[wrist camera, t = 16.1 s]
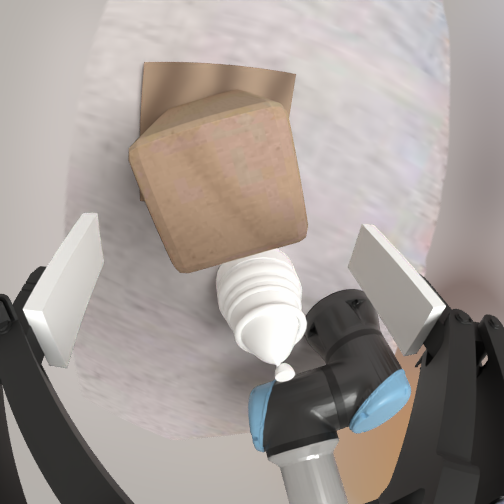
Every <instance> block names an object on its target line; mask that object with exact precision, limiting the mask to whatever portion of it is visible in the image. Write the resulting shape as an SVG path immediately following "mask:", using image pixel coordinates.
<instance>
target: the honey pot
mask: <svg viewBox="0 0 504 504" xmlns="http://www.w3.org/2000/svg"><path fill="white" fill-rule="evenodd" d="M216 288H217V297H218V305H219V309H220V312H221V313H222V315H223V317H224V318H225V319H226V321H227V322H228V325H229V326H230V328H231V330H232V331H233V332H234V337H235V341H236V343H237V344H238V346H239V347H240V348H242V349H243V350H244V351H246V352H249V353H251V354H253V355H255V356H256V357H257V358H259V359H260V360H262V361H264V362H266V363H269V364H275V365H276V367H277V368H276V370H275V379H276V380H277V381H279V382H285V381H288V380H291V379H292V378H293V377H294V376H295V372H294V370H293V368H292V367H291V366H290V365H289V364H287V363H281V362H283V361H284V360H285V359H286V358H287V357H288V356H289V355H290V353H291V351H292V349H293V346H294V345H295V344H296V343H297V342H299V340H300V339H301V338H302V337H303V335H304V333H305V331H306V327H307V321H306V317H305V315H304V314H303V312H302V311H301V309H302V305H301V299H302V287H301V284H300V280H299V279H298V276H297V273H296V271H295V269H294V267H293V265H292V262H291V261H290V259H289V258H288V257H287V255H286V254H284V253H283V252H281V251H280V250H278V249H272V250H269V251H265V252H262V253H258V254H255V255H251V256H248V257H244V258H241V259H237V260H233V261H230V262H226V263H223V264H221V266H220V268H219V270H218V272H217V276H216ZM298 327H299V329H298Z"/></svg>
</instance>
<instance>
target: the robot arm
mask: <svg viewBox="0 0 504 504" xmlns="http://www.w3.org/2000/svg"><path fill="white" fill-rule="evenodd" d="M103 264H104V258H103V252H102V245H101V238H100V230H99V221H98V213H83V214H82V215H81V217H80V218H79V219H78V221H77V222H76V223H75V225H74V226H73V228H72V229H71V231H70V232H69V234H68V235H67V236H66V238H65V239H64V241H63V242H62V244H61V245H60V247H59V248H58V250H57V252H56V253H55V255H54V256H53V258H52V260H51V261H50V263H49V264H48V266H47V267H42V266H40V267H38V268H37V269H36V270H35V271H34V272H32V273H31V274H30V276H29V278H28V279H27V281H26V284H24V286H23V287H22V291H20V292H19V294H18V296H17V298H16V299H15V301H14V303H13V305H12V303H11V300H10V299H9V297H8V296H7V295H4V294H0V504H27V502H26V499H25V496H24V493H23V489H22V486H21V483H20V479H19V476H18V472H17V468H16V465H15V460H14V456H13V452H12V447H11V443H10V438H9V432H8V426H7V420H6V413H5V407H4V397H3V388H4V391H5V394H6V396H7V399H8V402H9V404H10V407H11V410H12V412H13V415H14V417H15V419H16V422H17V424H18V426H19V429H20V431H21V433H22V435H23V437H24V439H25V442H26V444H27V446H28V448H29V449H30V452H31V454H32V456H33V457H34V459H35V461H36V463H37V465H38V467H39V469H40V470H41V472H42V474H43V475H44V477H45V479H46V481H47V482H48V484H49V486H50V487H51V489H52V491H53V492H54V494H55V495H56V497H57V498H58V500H59V501H60V503H61V504H134V503H133V502H132V500H130V498H129V497H128V496H127V495H126V494H125V492H124V491H123V490H122V489H121V488H120V487H119V485H118V484H117V483H116V482H115V480H114V479H113V478H112V477H111V475H110V474H109V473H108V472H107V470H106V469H105V468H104V467H103V465H102V464H101V462H100V461H99V460H98V458H97V457H96V456H95V454H94V453H93V451H92V450H91V449H90V447H89V446H88V444H87V443H86V441H85V440H84V438H83V437H82V435H81V434H80V432H79V431H78V429H77V427H76V426H75V424H74V423H73V421H72V420H71V418H70V416H69V415H68V413H67V411H66V409H65V408H64V406H63V404H62V403H61V401H60V399H59V397H58V395H57V393H56V392H55V390H54V388H53V386H52V384H51V382H50V380H49V378H48V376H47V374H46V372H45V370H44V368H43V366H42V365H41V363H42V360H43V358H44V356H45V358H46V360H47V362H48V363H49V365H50V366H56V367H63V368H67V367H68V364H69V360H70V357H71V354H72V350H73V347H74V344H75V341H76V337H77V334H78V331H79V328H80V325H81V322H82V319H83V317H84V314H85V311H86V308H87V305H88V303H89V300H90V297H91V294H92V292H93V289H94V287H95V284H96V281H97V279H98V276H99V274H100V271H101V269H102V267H103ZM348 268H349V270H350V271H351V273H352V274H353V276H354V277H355V279H356V280H357V282H358V283H359V285H360V286H361V288H362V289H363V291H364V292H363V291H360V290H344V291H340V292H337V293H334V294H332V295H330V296H328V297H326V298H324V299H323V300H321V301H320V302H319V303H317V304H316V305H315V306H314V307H313V308H312V309H311V310H310V312H309V313H308V315H307V316H306V321H307V327H306V331H305V333H304V334H305V336H306V339H307V341H308V343H309V344H310V345H311V347H312V348H313V349H314V350H315V351H316V352H317V353H318V354H319V355H320V356H321V357H322V358H323V359H324V360H325V362H326V365H325V366H322V367H318V368H315V369H312V370H309V371H306V372H303V373H299V374H296V375H295V376H294V377H293V378H292V379H291V380H288V381H285V382H279V381H277V380H276V379H275V380H273V381H271V382H269V383H266V384H262V385H259V386H257V387H255V388H254V389H253V390H252V392H251V394H250V397H249V404H248V415H249V425H250V432H251V435H252V439H253V444H254V446H255V448H256V450H258V451H261V452H265V451H266V453H267V457H268V460H269V461H271V462H272V463H274V464H276V465H278V466H279V467H280V469H281V473H282V477H283V481H284V485H285V488H286V492H287V496H288V500H289V504H348V501H347V497H346V494H345V491H344V487H343V484H342V480H341V477H340V474H339V471H338V467H337V464H336V461H335V457H334V454H333V451H334V449H335V447H336V445H337V444H338V442H339V438H338V435H337V430H340V429H343V428H345V427H349V428H350V430H352V432H354V433H361V432H366V431H369V430H371V429H373V428H375V427H377V426H379V425H381V424H383V423H384V422H386V421H387V420H388V419H390V418H391V417H393V416H394V415H395V414H396V413H397V412H398V411H400V409H402V408H403V406H404V405H405V404H406V402H407V401H408V399H409V397H410V394H411V387H410V385H409V382H408V380H407V378H406V376H405V371H404V370H403V369H402V368H401V366H400V364H399V362H398V361H397V359H396V357H395V355H394V354H393V352H392V350H391V348H390V347H389V345H388V343H387V342H386V340H385V338H384V337H383V335H382V333H381V331H380V325H379V319H378V314H379V316H380V318H381V319H382V321H383V322H384V324H385V326H386V327H387V329H388V331H389V332H390V334H391V336H392V337H393V339H394V341H395V342H396V344H397V346H398V347H399V349H400V351H401V352H402V354H403V356H408V355H412V354H417V352H418V351H419V349H420V348H421V346H422V345H423V344H424V346H425V347H426V351H425V352H424V353H423V355H422V356H421V358H420V359H419V361H418V362H417V364H416V365H415V367H418V365H419V364H421V367H420V375H419V380H418V385H417V390H416V395H415V399H414V403H413V408H412V412H411V416H410V420H409V424H408V428H407V431H406V435H405V438H404V442H403V445H402V448H401V452H400V455H399V458H398V461H397V464H396V467H395V470H394V473H393V476H392V478H391V481H390V483H389V485H388V486H387V488H386V489H385V490H384V491H383V493H382V494H381V495H380V497H379V498H378V499H376V500H373V501H371V502H368V503H365V504H504V327H503V325H502V324H501V322H500V321H499V320H498V319H497V318H496V317H495V316H492V315H485V316H484V317H483V318H482V320H481V322H480V323H478V322H473V320H472V319H471V318H470V316H469V315H468V314H467V313H465V312H463V311H462V310H459V309H453V310H452V309H451V308H450V307H449V306H448V304H447V303H446V302H445V301H444V300H443V298H442V297H441V296H440V295H439V294H438V292H436V290H435V289H434V288H433V287H432V286H431V284H430V283H429V282H428V281H427V280H426V278H424V277H423V276H422V275H420V274H419V273H418V272H417V271H416V270H415V269H414V268H413V266H412V265H411V264H410V263H409V262H408V261H407V260H406V259H405V258H404V256H403V255H402V254H401V253H400V252H399V251H398V250H397V249H396V248H395V247H394V246H393V245H392V243H391V242H390V241H389V240H388V239H387V238H386V237H385V236H384V235H383V234H382V233H381V232H380V231H379V230H378V229H377V228H376V227H375V226H374V225H369V224H362V225H361V228H360V232H359V235H358V238H357V241H356V244H355V247H354V251H353V254H352V257H351V260H350V263H349V265H348ZM377 313H378V314H377ZM486 355H487V356H488V361H487V362H486V363H485V365H484V366H482V363H481V361H482V360H483V359H484V358H485V356H486ZM2 385H3V388H2Z"/></svg>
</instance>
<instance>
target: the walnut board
mask: <svg viewBox="0 0 504 504" xmlns="http://www.w3.org/2000/svg"><path fill="white" fill-rule="evenodd" d="M295 77H296V74H292V73H287V72H281V71H274V70H268V69H260V68H253V67H244V66H235V65H224V64H210V63H189V62H144V72H143V85H142V99H141V119H140V136H141V135H142V134H143V133H144V132H145V131H146V130H147V129H148V128H149V127H150V126H151V125H152V124H153V123H154V122H155V121H156V120H157V119H158V118H159V117H160V116H161V115H162V114H164V113H165V112H166V111H167V110H168V109H170V108H173V107H176V106H179V105H182V104H186V103H189V102H192V101H195V100H199V99H202V98H205V97H209V96H213V95H216V94H220V93H224V92H228V91H231V90H235V89H238V90H244V91H247V92H250V93H253V94H256V95H259V96H262V97H265V98H268V99H270V100H273V101H276V102H279V103H281V104H282V106H283V107H284V109H285V110H286V111H287V113H288V117H289V115H290V108H291V102H292V96H293V89H294V83H295ZM140 201H145V200H144V198H143V196H142V193H141V191H140Z"/></svg>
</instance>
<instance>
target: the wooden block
mask: <svg viewBox="0 0 504 504" xmlns="http://www.w3.org/2000/svg"><path fill="white" fill-rule="evenodd" d="M129 163H130V165H131V168H132V171H133V173H134V176H135V178H136V181H137V183H138V186H139V188H140V191H141V193H142V196H143V198H144V200H145V203H146V205H147V208H148V210H149V212H150V215H151V217H152V219H153V222H154V224H155V226H156V229H157V231H158V233H159V235H160V238H161V240H162V242H163V244H164V246H165V249H166V251H167V253H168V255H169V257H170V260H171V262H172V264H173V265H174V267H175V268H176V269H177V270H178V271H179V272H180V273H191V272H195V271H198V270H202V269H205V268H209V267H212V266H216V265H219V264H223V263H226V262H230V261H233V260H237V259H241V258H244V257H248V256H251V255H255V254H258V253H262V252H265V251H269V250H272V249H276V248H279V247H283V246H286V245H290V244H293V243H297V242H300V241H301V240H303V239H304V238H306V234H307V228H308V222H307V215H306V209H305V203H304V197H303V191H302V185H301V179H300V174H299V168H298V163H297V157H296V152H295V147H294V142H293V137H292V132H291V127H290V122H289V117H288V113H287V111H286V110H285V109H284V107H283V106H282V104H281V103H279V102H276V101H273V100H270V99H268V98H265V97H262V96H259V95H256V94H253V93H250V92H247V91H244V90H238V89H235V90H231V91H228V92H224V93H220V94H216V95H213V96H209V97H205V98H202V99H199V100H195V101H192V102H189V103H186V104H182V105H179V106H176V107H173V108H170V109H168V110H167V111H166V112H165V113H164V114H162V115H161V116H160V117H159V118H158V119H157V120H156V121H155V122H154V123H153V124H152V125H151V126H150V127H149V128H148V129H147V130H146V131H145V132H144V133H143V134H142V135H141V136H140V137H139V138H138V139H137V140H136V141H135V142H134V143H133V144H132V146H131V147H130V148H129Z"/></svg>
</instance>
